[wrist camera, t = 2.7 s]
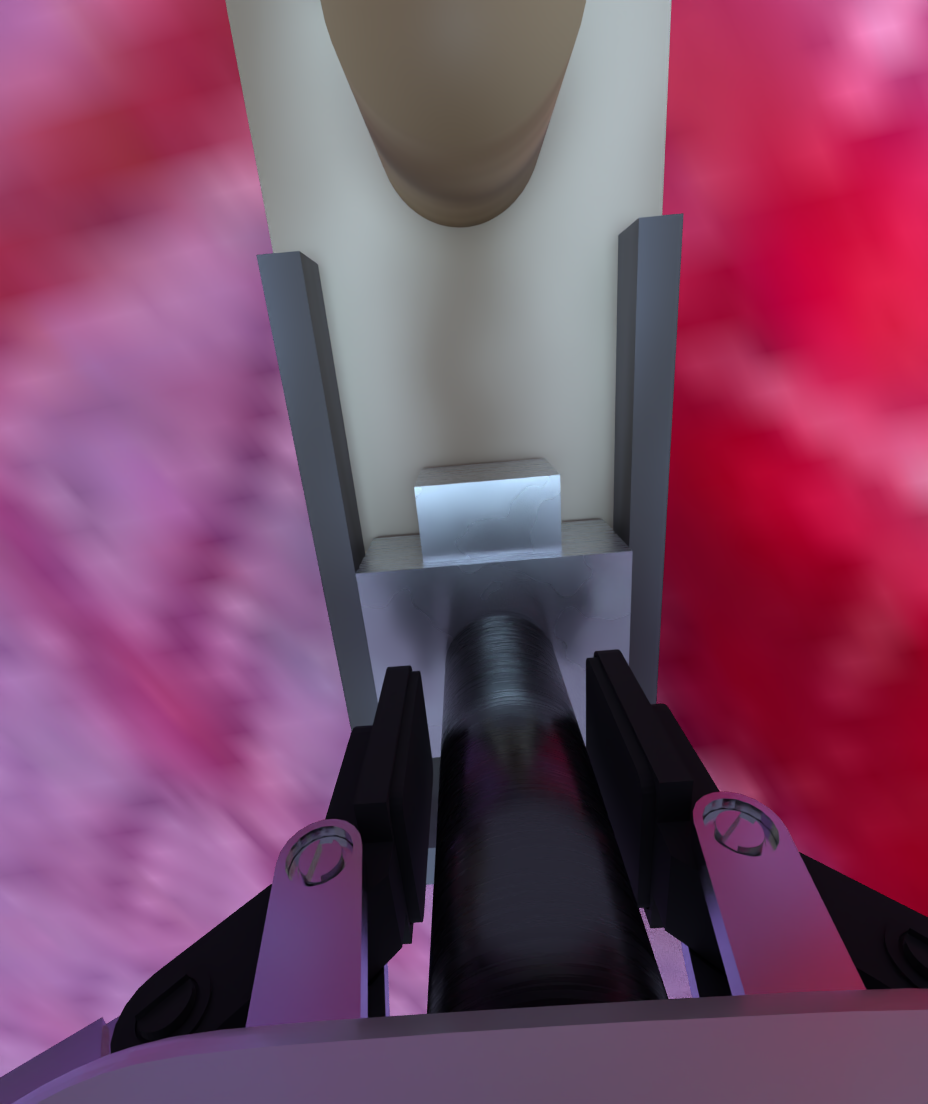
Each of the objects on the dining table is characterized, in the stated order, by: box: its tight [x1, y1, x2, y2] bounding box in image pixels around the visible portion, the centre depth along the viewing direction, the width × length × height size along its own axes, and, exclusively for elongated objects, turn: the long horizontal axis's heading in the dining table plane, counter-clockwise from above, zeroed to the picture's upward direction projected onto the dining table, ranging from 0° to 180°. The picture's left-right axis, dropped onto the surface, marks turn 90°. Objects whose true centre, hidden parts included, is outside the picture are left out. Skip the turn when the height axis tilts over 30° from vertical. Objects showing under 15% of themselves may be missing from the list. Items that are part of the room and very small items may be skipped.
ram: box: [356, 458, 668, 1014], centre depth 10 cm, size 7×8×12 cm
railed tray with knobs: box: [225, 0, 683, 885], centre depth 14 cm, size 10×25×6 cm, turn 5°
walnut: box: [320, 0, 586, 227], centre depth 10 cm, size 4×4×5 cm
